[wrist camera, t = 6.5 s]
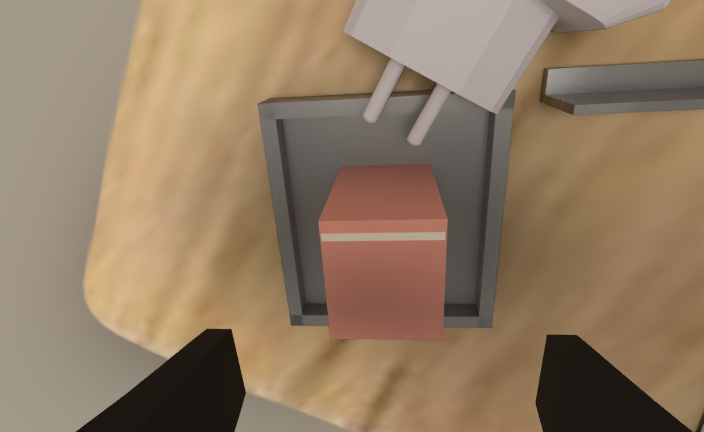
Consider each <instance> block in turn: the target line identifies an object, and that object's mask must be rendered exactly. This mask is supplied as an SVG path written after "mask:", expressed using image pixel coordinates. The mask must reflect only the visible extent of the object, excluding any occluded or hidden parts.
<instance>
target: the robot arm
mask: <svg viewBox="0 0 704 432" xmlns="http://www.w3.org/2000/svg"><path fill="white" fill-rule="evenodd" d="M245 394H246V392H245V387H244V383H243V378H242V374H241V369H240V365H239V361H238V356H237V352H236V347H235V343H234V338H233V334H232V330H231V329H206V330H205V331H204V332H202V333H201V334H200V335H198V336H197V337H196V338H195V339H193V340H192V341H191V342H190V343H188V344H187V345H186V346H185V347H183V348H182V349H181V350H180V351H179V352H177V353H176V354H175V355H174V356H172V357H171V358H170V359H169V360H168V361H166V362H165V363H164V364H163V365H162V366H160V367H159V368H158V369H157V370H155V371H154V372H153V373H152V374H150V375H149V376H148V377H147V378H145V379H144V380H143V381H142V382H140V383H139V384H138V385H137V386H135V387H134V388H133V389H132V390H130V391H129V392H128V393H127V394H125V395H124V396H123V397H121V398H120V399H119V400H117V402H115V403H113V404H112V405H111V406H110V407H108V408H107V409H105V410H104V411H103V412H101V413H100V414H99V415H97V416H96V417H95V418H94V419H92V420H91V421H89V422H88V423H87V424H86V425H84V426H83V427H82V428H80V429H79V430H78V431H76V432H234V431H235V427H236V425H237V421H238V418H239V415H240V411H241V408H242V404H243V401H244V397H245ZM536 407H537V411H538V414H539V418H540V422H541V425H542V429H543V432H692V431H691V430H690V429H689V428H687V427H686V426H685V425H684V424H682V423H681V422H680V421H679V420H677V419H676V418H675V417H674V416H672V415H671V414H670V413H669V412H668V411H666V410H665V409H664V408H663V407H661V406H660V405H659V404H658V403H657V402H655V401H654V400H653V399H652V398H651V397H649V396H648V395H647V394H646V393H645V392H643V391H642V390H641V389H640V388H639V387H637V386H636V385H635V384H634V383H633V382H632V381H630V380H629V379H628V378H627V377H626V376H624V375H623V374H622V373H621V372H620V371H619V370H617V369H616V368H615V367H614V366H613V365H612V364H610V363H609V362H608V361H607V360H606V359H605V358H603V357H602V356H601V355H600V354H599V353H598V352H596V351H595V350H594V349H593V348H592V347H591V346H589V345H588V344H587V343H586V342H585V341H583V340H582V339H581V338H580V337H578V336H577V335H547V338H546V344H545V350H544V356H543V362H542V368H541V373H540V379H539V385H538V391H537V397H536ZM701 432H704V425H703V427H702V430H701Z"/></svg>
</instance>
